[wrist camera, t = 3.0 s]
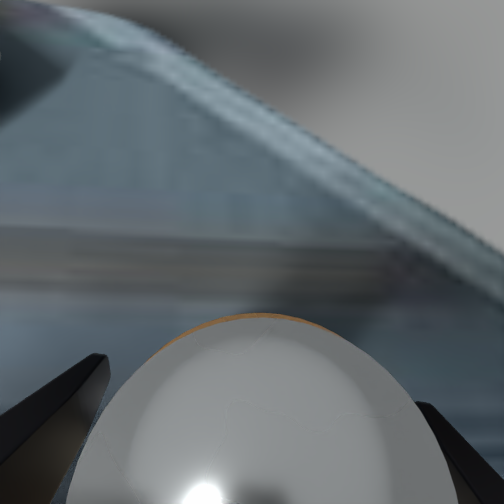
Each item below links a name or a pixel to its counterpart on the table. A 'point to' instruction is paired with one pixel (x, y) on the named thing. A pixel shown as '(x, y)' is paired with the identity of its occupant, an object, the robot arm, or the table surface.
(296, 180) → the table surface
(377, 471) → the grey tall flared piece
